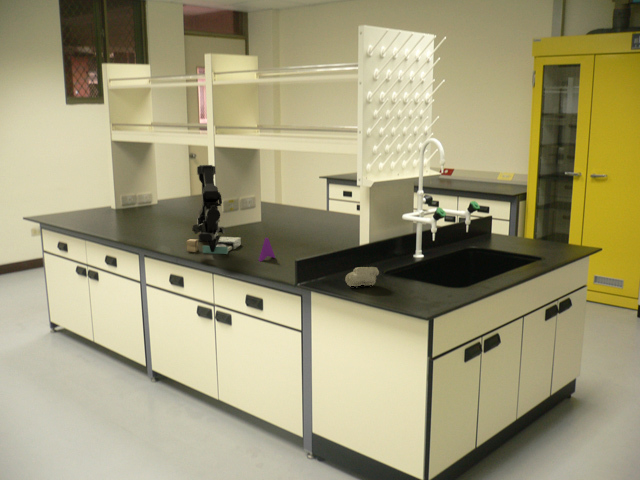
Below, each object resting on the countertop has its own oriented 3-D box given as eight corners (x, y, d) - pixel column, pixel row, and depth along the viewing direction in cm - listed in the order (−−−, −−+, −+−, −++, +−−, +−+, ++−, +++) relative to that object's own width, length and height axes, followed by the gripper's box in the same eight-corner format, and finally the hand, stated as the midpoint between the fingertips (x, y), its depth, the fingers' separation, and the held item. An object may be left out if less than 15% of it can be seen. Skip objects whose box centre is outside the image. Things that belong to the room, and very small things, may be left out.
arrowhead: (265, 268, 266) (276, 250, 270) (268, 269, 265) (279, 251, 269) (254, 256, 259) (265, 237, 263) (256, 256, 258) (268, 237, 262)
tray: (210, 248, 286) (210, 241, 285) (233, 249, 284) (233, 242, 283) (202, 252, 276) (202, 246, 276) (227, 254, 274) (227, 247, 274)
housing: (217, 243, 296) (216, 236, 295) (240, 244, 294) (240, 237, 293) (210, 248, 286) (210, 240, 286) (234, 249, 284) (234, 241, 284)
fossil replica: (340, 286, 225) (357, 294, 217) (340, 265, 222) (357, 273, 215) (365, 278, 232) (382, 286, 224) (365, 258, 229) (383, 265, 221)
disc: (210, 250, 277) (210, 247, 277) (213, 247, 284) (213, 244, 283) (224, 250, 277) (224, 247, 277) (227, 247, 283) (227, 244, 283)
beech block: (190, 249, 283) (189, 239, 282) (198, 249, 282) (198, 239, 281) (187, 251, 279) (186, 240, 278) (195, 251, 278) (194, 241, 277)
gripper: (201, 213, 279) (202, 246, 282) (186, 220, 261) (187, 255, 264) (224, 214, 277) (225, 247, 281) (211, 221, 259) (212, 257, 263)
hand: (212, 252), depth 272 cm, fingers closed
